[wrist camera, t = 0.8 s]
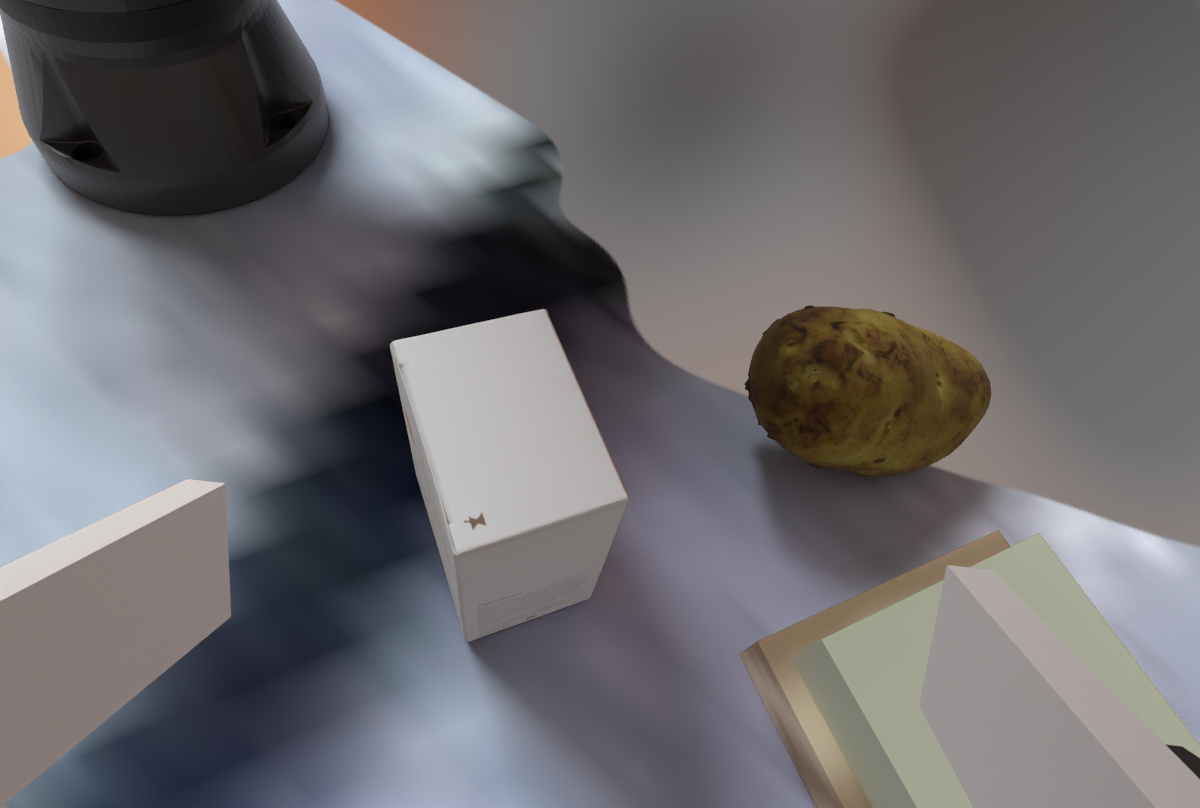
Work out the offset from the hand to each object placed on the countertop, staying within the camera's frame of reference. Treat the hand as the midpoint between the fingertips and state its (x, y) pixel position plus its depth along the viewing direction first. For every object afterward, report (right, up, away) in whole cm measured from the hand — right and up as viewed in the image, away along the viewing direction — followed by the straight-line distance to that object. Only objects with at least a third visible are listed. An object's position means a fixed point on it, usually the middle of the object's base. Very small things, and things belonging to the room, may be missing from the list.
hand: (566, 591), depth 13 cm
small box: (-4, -2, +19) cm, 19 cm away
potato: (+13, +2, +24) cm, 27 cm away
